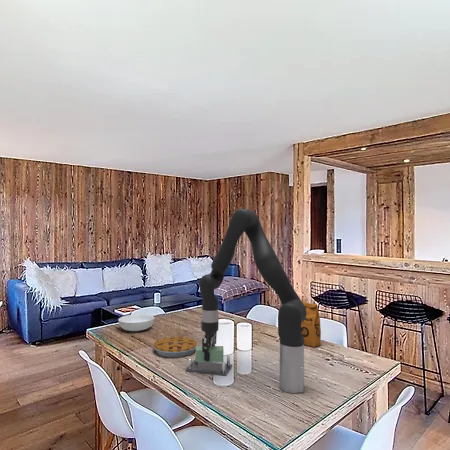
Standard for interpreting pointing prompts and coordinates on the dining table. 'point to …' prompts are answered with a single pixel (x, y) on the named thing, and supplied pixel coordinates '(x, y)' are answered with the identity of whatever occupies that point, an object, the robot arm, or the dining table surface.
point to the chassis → (209, 367)
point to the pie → (175, 346)
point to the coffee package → (311, 326)
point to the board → (215, 354)
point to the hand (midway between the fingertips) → (209, 357)
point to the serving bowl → (136, 322)
